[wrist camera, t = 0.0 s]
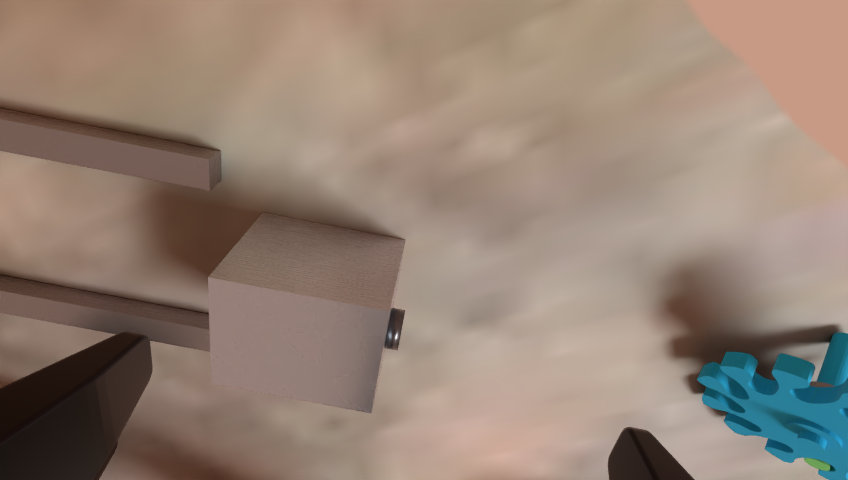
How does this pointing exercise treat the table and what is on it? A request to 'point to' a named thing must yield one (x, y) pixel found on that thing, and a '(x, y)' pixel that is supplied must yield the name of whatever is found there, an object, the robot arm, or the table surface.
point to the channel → (124, 158)
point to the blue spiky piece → (787, 405)
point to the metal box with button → (305, 312)
